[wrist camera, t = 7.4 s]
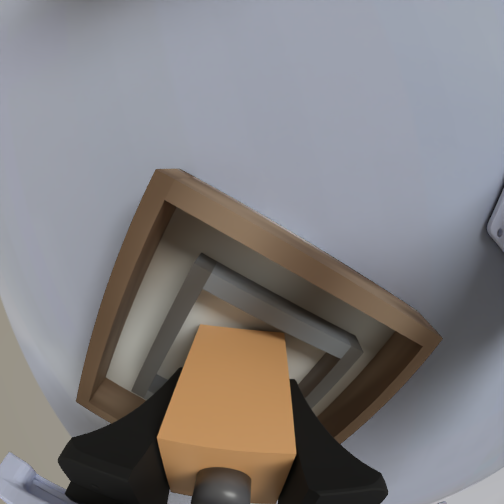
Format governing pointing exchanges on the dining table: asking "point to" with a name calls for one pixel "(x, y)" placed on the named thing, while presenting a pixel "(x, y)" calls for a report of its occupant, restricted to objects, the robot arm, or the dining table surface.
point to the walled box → (244, 308)
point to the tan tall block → (230, 419)
